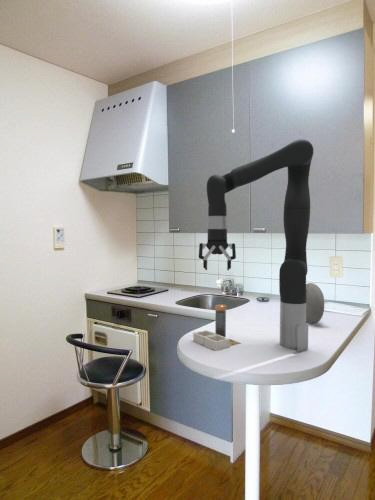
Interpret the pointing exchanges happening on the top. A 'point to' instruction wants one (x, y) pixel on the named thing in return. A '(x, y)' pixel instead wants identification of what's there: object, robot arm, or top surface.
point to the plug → (220, 320)
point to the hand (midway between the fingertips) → (217, 269)
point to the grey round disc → (314, 303)
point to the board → (231, 343)
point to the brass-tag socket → (217, 342)
